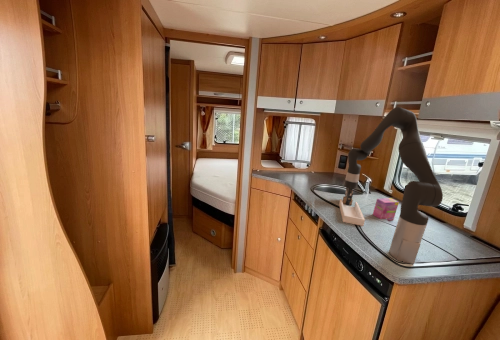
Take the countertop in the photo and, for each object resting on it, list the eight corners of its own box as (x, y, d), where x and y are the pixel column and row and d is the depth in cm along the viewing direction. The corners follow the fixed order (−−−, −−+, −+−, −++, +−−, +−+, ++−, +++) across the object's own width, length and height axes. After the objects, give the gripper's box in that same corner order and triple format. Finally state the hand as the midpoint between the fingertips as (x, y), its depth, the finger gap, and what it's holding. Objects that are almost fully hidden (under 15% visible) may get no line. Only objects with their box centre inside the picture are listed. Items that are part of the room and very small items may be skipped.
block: (351, 207, 140) (352, 200, 139) (342, 206, 142) (344, 198, 140) (350, 204, 145) (351, 197, 144) (342, 203, 146) (343, 196, 145)
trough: (362, 228, 115) (364, 219, 113) (342, 224, 117) (344, 215, 116) (355, 209, 138) (357, 202, 137) (338, 206, 141) (340, 199, 139)
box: (379, 221, 125) (384, 202, 122) (371, 216, 130) (376, 198, 127) (393, 220, 128) (399, 201, 124) (385, 216, 133) (390, 197, 130)
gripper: (360, 184, 131) (354, 210, 136) (356, 178, 145) (351, 201, 149) (346, 182, 133) (341, 207, 138) (344, 176, 146) (339, 199, 151)
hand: (346, 204), depth 143 cm, fingers closed on block, 5 cm apart
